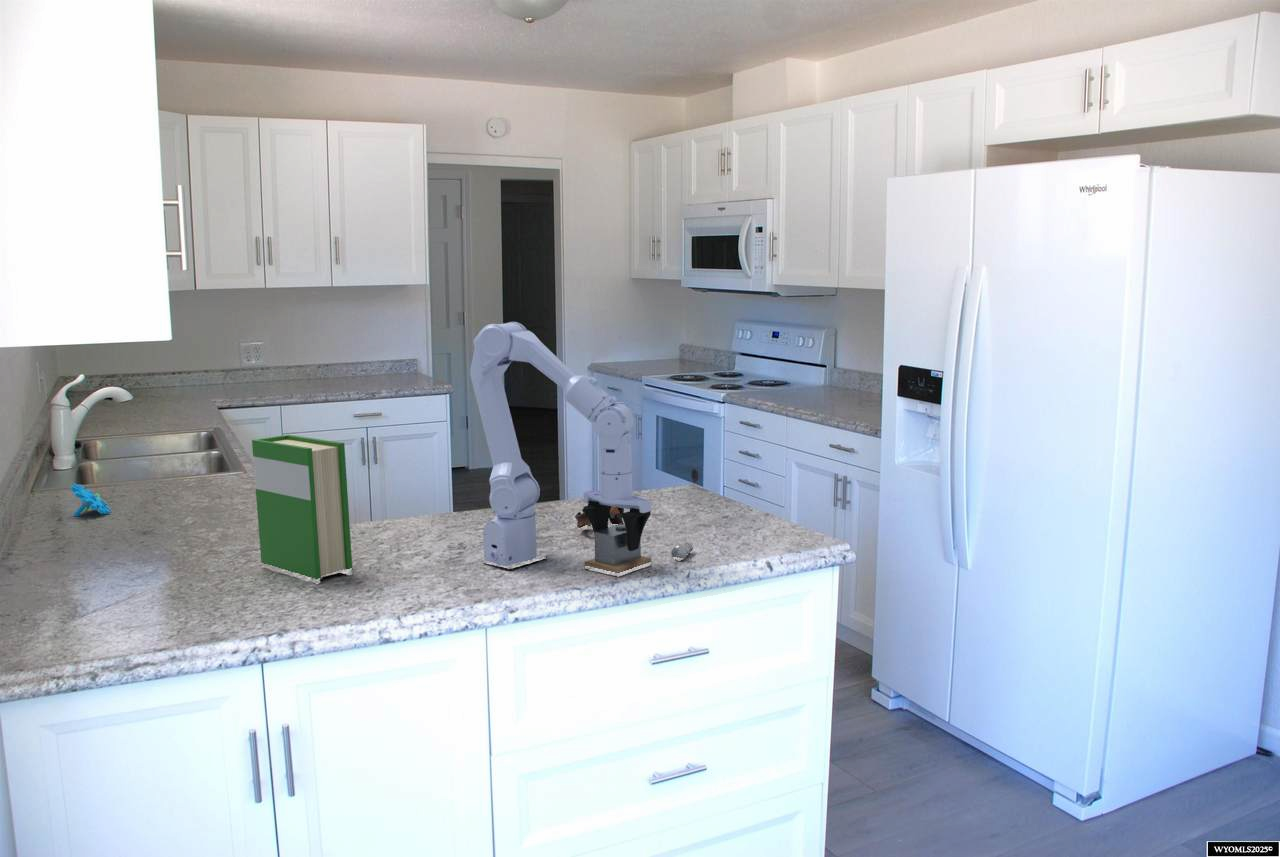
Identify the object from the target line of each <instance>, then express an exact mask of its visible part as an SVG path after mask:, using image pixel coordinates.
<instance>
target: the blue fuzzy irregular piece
mask: <svg viewBox="0 0 1280 857" xmlns="http://www.w3.org/2000/svg"><path fill="white" fill-rule="evenodd" d="M70 490H71V491H72V492H73V496H75V497H77V498H80V502H81V505H80V506H79V508H77V510H76V511H75V512H73V515H74V517H76V516H77V517H79V515H80V514H81V513H82V512H84V513H86V512H87V511H88V510H89V509H91V510H93V511H95V510H96V509H97V512H98V513H99V514H100V515H103V514H105V515H109V513H111V511H110V510H111V507H109V506H108V503H107V502H106V501H105V500H102V499H101V497H100V496H101V495H100V494H99V493H95V494H93V491H92V490H91V489H90V488H88V487H87V488H86V489H85V487H84V485H82V484H80V483H79V484H77V483H72V485H71V486H70Z"/></svg>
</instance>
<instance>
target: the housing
mask: <svg viewBox="0 0 1280 857" xmlns="http://www.w3.org/2000/svg"><path fill="white" fill-rule="evenodd" d="M593 534H594V538H593V539H594V540H593V541H594V558H595V562H598V563H602V564H607V565H611V566H617V565H620V564H623V563H626V562H629V561H632V560H635V559H638V558H641V556H642V553H641V552H642V551H641V549H642V547H641V546H642V545H641V544H642V543H641V539H642V538H641V539H640V543H639V548H638V549H636V550H633V551H628V547H627V534H626V528H625V524H624V525H622V524H620V525H612V526H610V527H609V526H608V528H606V529H603V530H599V531H596V532H594V531H593Z"/></svg>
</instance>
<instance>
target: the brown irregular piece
mask: <svg viewBox="0 0 1280 857" xmlns="http://www.w3.org/2000/svg"><path fill="white" fill-rule="evenodd" d="M581 511H582V513H581ZM581 511H578V512H577V514H576V515H575V516H574V518H575V519H576V521H577V522H576V528H580V529H581V527H583V526H585V525H588V527H591V528H592V525H591V523H590V521H589V519H588V517H587V515H586V514H585V512H584V511H583V508H582V510H581ZM622 513H625V508H619V507H614V506H611V509H610V514H609V520H608V521H609V522H610V524H611V523H612V524H618V525H620V524H622V525H625V524H624V520H623V518H622Z"/></svg>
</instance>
